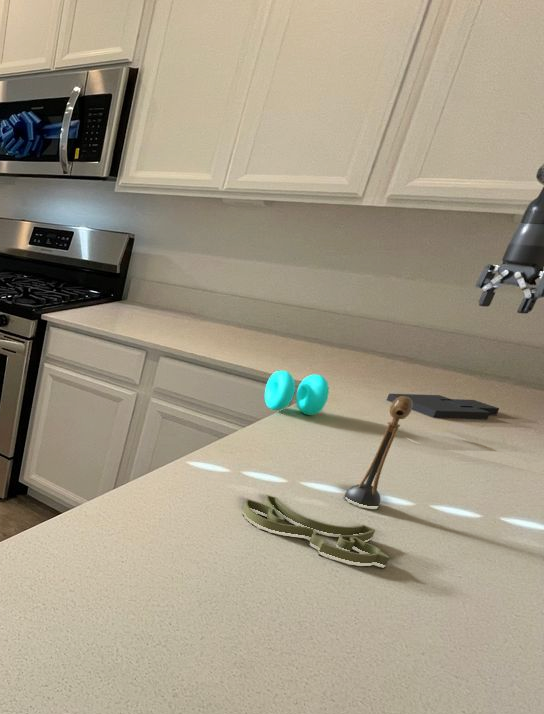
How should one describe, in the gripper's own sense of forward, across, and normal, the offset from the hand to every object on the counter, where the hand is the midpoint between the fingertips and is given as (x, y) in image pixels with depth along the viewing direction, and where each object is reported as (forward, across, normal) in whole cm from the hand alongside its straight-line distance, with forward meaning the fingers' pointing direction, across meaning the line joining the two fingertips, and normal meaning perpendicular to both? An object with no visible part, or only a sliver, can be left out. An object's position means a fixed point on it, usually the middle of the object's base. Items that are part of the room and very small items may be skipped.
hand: (502, 309), depth 147 cm
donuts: (+26, -8, +54) cm, 61 cm away
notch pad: (+26, -8, +16) cm, 32 cm away
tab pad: (+26, -8, +8) cm, 28 cm away
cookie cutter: (+26, -63, +96) cm, 118 cm away
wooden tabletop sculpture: (+26, -53, +78) cm, 98 cm away
